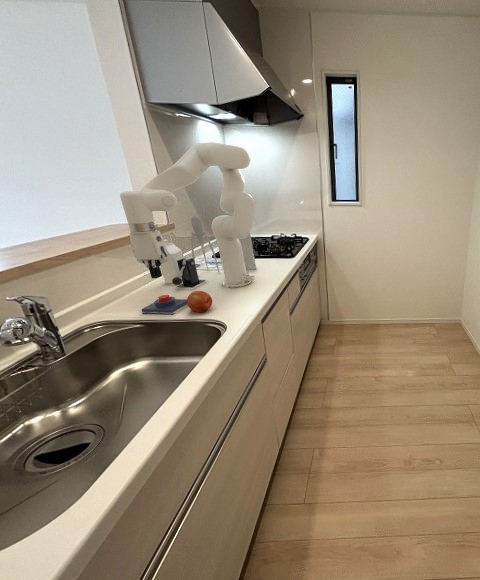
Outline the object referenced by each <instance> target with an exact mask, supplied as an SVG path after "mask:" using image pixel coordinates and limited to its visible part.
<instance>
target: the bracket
mask: <svg viewBox="0 0 480 580" xmlns="http://www.w3.org/2000/svg"><path fill="white" fill-rule="evenodd" d="M184 259H186V257H184V258H182V259H180V260H177V263H178V267H179V271H180V270H181V268H182V266H183V265H182V264H181V263H182V262H183V260H184ZM185 262H186V266H187V267H186V269H185V271H184V273H183V275H182V277H181V278H182V283H181V284H180V285H176V288H181V289H182V288H185V289H186V288H188V289H189V288H190V289H193V288H195V287H198V285H201V284H202V283H204V282H206V281H207V279H200V278H199V274H198V270H196V269H197V265H196V266H195V264H196V261H195V262H194V258H193V257H191V258H188V260H186V261H185Z"/></svg>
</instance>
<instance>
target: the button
mask: <svg viewBox="0 0 480 580" xmlns="http://www.w3.org/2000/svg"><path fill="white" fill-rule="evenodd" d="M170 297H171V296H170V294H163V295H159V296H158V298H157V299H159V302H166V301H169V300H171V299H170Z"/></svg>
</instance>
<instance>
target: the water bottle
mask: <svg viewBox="0 0 480 580" xmlns="http://www.w3.org/2000/svg"><path fill="white" fill-rule="evenodd" d="M239 241H240V243H241V246H242V251H243V257H244V262H245V267H246V271H254V270H256V269H257V265H256V258H255V253H254V247H253V242H252V235H251V233H250V234H249V235H248V236H247V237H246V238H243V239H239Z"/></svg>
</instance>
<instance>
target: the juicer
mask: <svg viewBox="0 0 480 580" xmlns="http://www.w3.org/2000/svg"><path fill="white" fill-rule="evenodd" d="M190 223H191V226H192V229H193V232H191V241H190V244H191V245H190V246H191V255H192V258H194V262H195V266H196V267H197V264H196V257H195V246H194V243H195V237H196V238H197V240H198V241H199V243H200V246H201V250H202V255H203V258H204V261H205V266H206V270H209V265H208V261H207V257H206V252H205V251H206V250H205V247H204V241H203V236H204V237H205V239H206V240H207V241H206V242H207V243H208V245H209V247H210V250H211V253H212V256H213V259H214V261H215V266H216V268H217V269H216V270H217V272H218V273H220V269H219V264H218V261H217V257H216V254H215V251H214V247H213V245H212V242H211V240H210V238H209V236H208V234H207V232H206V231H203V224H202V221H201V218H200V217H199V216H198V215H196V214H195V215H193V216H192V217H191V219H190ZM196 270H197V268H196ZM197 271H198V270H197Z"/></svg>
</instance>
